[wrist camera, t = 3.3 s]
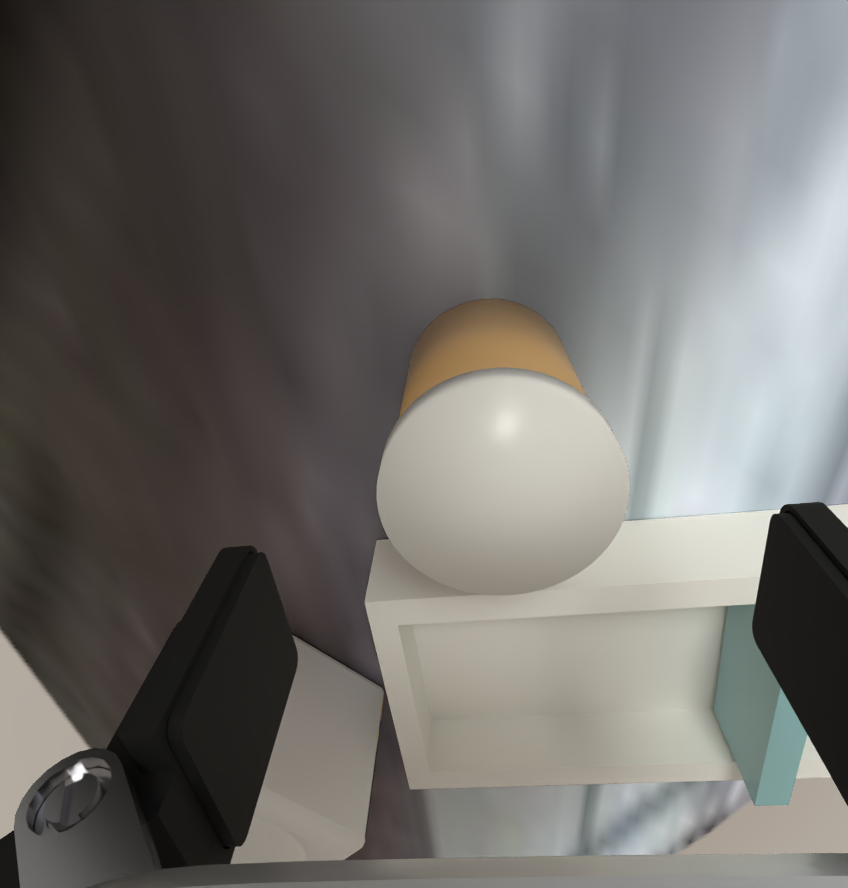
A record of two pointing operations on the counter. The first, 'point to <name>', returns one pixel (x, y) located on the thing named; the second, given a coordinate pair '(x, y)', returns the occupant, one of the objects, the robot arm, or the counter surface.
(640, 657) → the lane
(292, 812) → the medicine bottle
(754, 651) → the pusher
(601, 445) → the jar
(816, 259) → the counter surface
